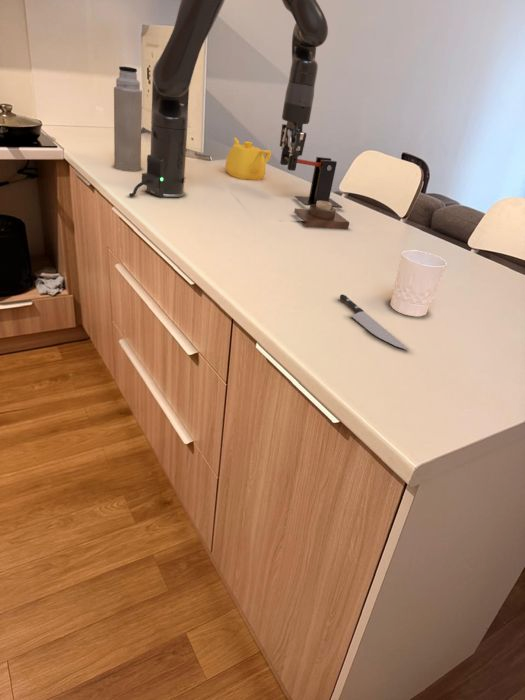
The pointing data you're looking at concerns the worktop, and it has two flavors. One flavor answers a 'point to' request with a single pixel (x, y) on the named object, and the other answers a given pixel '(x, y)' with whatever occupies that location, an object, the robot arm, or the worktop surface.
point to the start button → (323, 205)
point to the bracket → (321, 183)
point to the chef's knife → (371, 323)
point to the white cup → (416, 282)
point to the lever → (304, 161)
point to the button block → (321, 218)
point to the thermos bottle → (127, 120)
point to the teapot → (247, 161)
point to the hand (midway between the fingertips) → (287, 167)
